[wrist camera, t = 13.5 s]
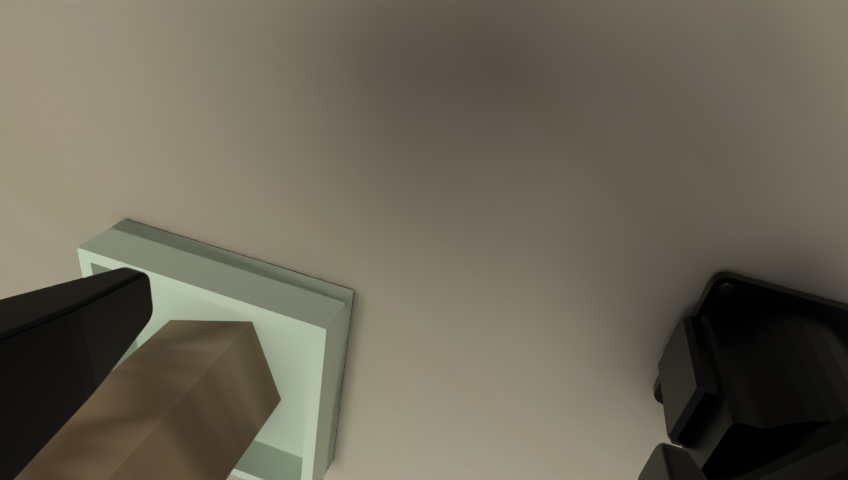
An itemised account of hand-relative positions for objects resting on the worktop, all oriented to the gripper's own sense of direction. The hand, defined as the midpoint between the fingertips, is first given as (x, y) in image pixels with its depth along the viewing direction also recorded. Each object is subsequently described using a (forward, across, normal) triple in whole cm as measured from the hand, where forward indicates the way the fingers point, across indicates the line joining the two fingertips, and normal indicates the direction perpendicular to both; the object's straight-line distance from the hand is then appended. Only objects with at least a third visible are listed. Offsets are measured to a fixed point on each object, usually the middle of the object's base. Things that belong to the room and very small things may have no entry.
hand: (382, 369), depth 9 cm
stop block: (+12, +11, +15) cm, 22 cm away
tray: (+13, +11, +15) cm, 23 cm away
